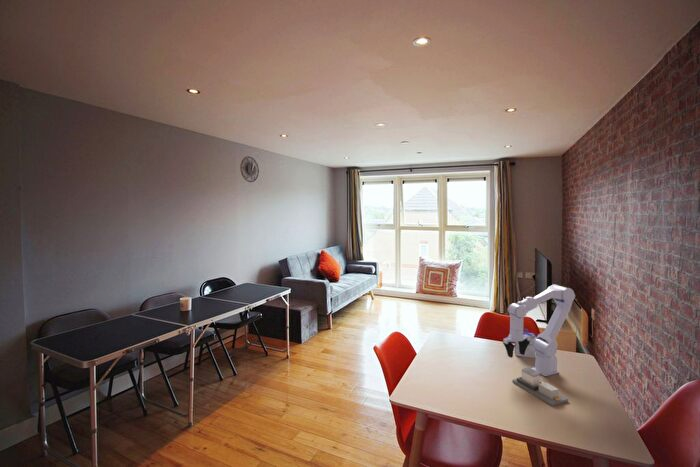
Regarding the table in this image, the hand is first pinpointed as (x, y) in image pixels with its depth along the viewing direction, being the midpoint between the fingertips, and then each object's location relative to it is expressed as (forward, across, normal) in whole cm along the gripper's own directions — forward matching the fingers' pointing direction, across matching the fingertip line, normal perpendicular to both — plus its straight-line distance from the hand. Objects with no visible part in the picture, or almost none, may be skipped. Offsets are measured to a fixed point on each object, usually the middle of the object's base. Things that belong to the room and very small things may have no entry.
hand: (516, 355), depth 154 cm
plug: (+8, +3, +11) cm, 14 cm away
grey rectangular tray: (+9, +3, +15) cm, 18 cm away
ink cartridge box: (+10, -22, -14) cm, 28 cm away
